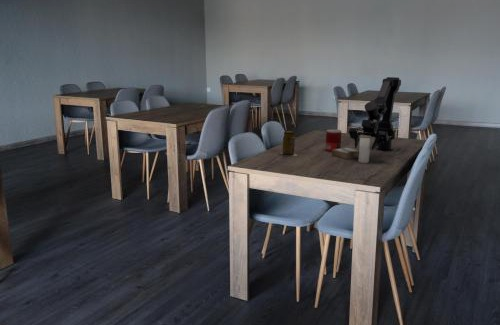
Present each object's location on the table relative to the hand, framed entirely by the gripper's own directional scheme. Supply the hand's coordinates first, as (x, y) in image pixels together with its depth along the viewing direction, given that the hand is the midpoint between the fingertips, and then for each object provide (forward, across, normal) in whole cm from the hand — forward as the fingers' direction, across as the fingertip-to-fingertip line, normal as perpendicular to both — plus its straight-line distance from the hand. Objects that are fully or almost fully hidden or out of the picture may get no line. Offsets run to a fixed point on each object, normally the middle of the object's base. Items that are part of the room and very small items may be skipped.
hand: (363, 148), depth 223 cm
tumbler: (+4, 0, +6) cm, 7 cm away
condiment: (+9, -38, +1) cm, 39 cm away
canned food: (-7, -22, +17) cm, 29 cm away
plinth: (-1, -12, +10) cm, 15 cm away
